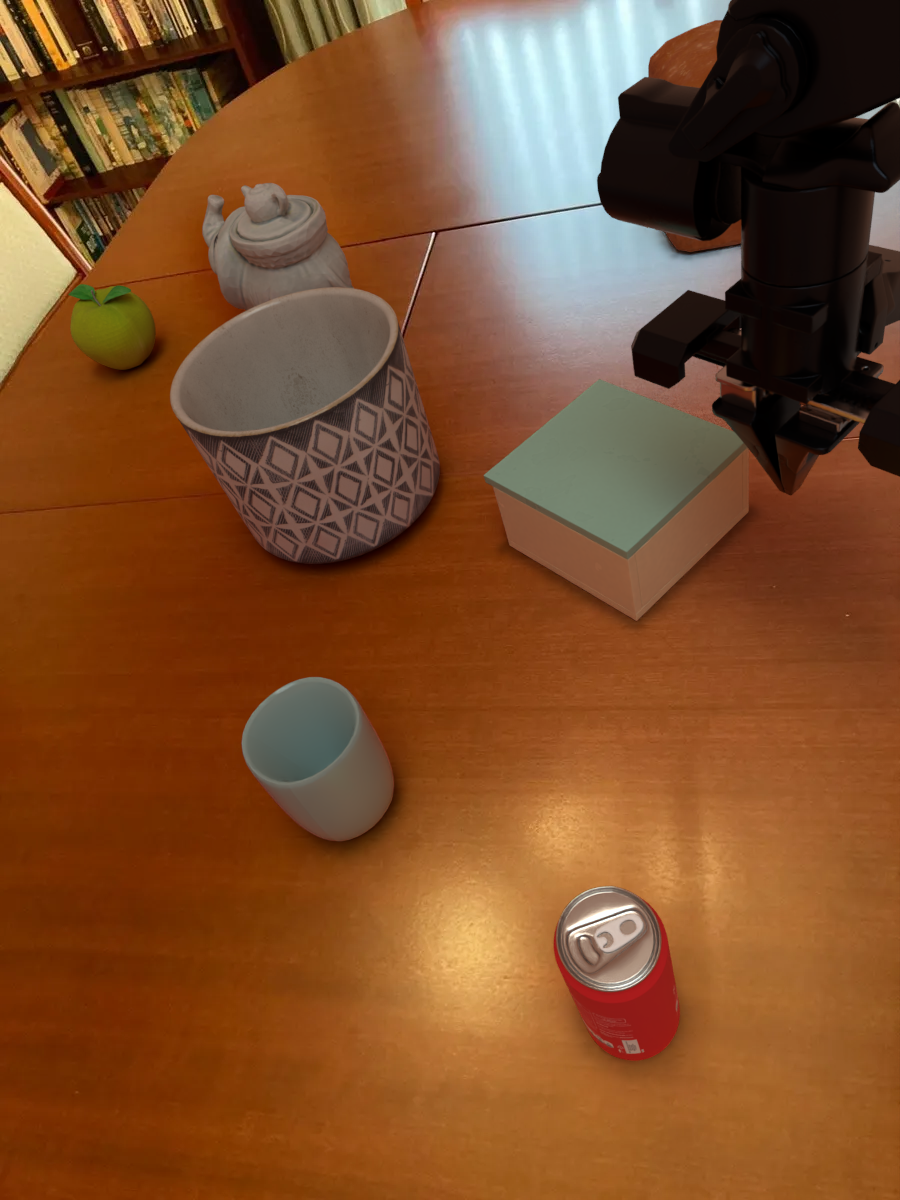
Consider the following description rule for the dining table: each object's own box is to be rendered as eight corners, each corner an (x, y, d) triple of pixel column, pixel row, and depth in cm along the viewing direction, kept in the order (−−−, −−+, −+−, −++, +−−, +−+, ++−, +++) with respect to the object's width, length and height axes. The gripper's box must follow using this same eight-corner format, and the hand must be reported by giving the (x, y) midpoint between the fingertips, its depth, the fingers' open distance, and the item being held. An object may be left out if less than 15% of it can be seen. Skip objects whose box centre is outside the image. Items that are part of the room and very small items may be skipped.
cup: (341, 880, 58) (283, 811, 50) (279, 808, 63) (218, 735, 55) (429, 799, 60) (385, 721, 53) (362, 735, 65) (314, 655, 57)
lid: (485, 482, 69) (483, 475, 68) (600, 386, 73) (599, 378, 73) (627, 559, 60) (626, 552, 60) (749, 445, 64) (749, 437, 64)
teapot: (247, 321, 110) (176, 171, 96) (362, 283, 109) (306, 126, 95) (248, 395, 99) (168, 238, 85) (376, 354, 97) (316, 188, 84)
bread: (778, 128, 108) (782, -10, 97) (837, 223, 92) (850, 70, 81) (637, 164, 111) (625, 34, 100) (671, 262, 95) (661, 119, 84)
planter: (481, 443, 83) (436, 287, 71) (394, 597, 73) (324, 445, 61) (314, 427, 91) (249, 285, 79) (215, 563, 81) (123, 424, 69)
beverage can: (568, 992, 50) (531, 913, 41) (648, 948, 50) (627, 861, 42) (615, 1084, 46) (585, 1019, 38) (700, 1036, 47) (690, 960, 38)
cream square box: (509, 545, 74) (492, 486, 69) (616, 451, 78) (607, 389, 73) (636, 621, 65) (627, 560, 60) (749, 511, 69) (749, 446, 64)
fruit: (129, 337, 115) (87, 267, 107) (182, 341, 110) (142, 269, 103) (85, 381, 110) (38, 311, 103) (138, 387, 106) (93, 315, 98)
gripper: (1099, 206, 39) (1018, 467, 51) (740, 148, 51) (740, 372, 62) (964, 342, 36) (910, 588, 47) (612, 246, 47) (637, 464, 59)
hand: (790, 489), depth 54 cm, fingers closed
